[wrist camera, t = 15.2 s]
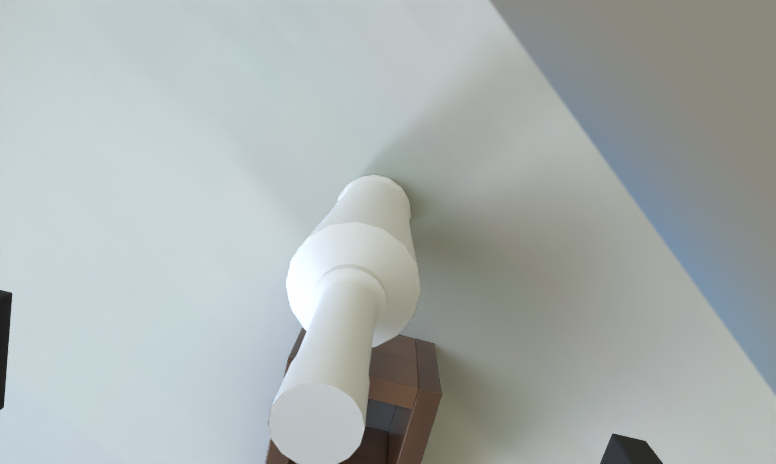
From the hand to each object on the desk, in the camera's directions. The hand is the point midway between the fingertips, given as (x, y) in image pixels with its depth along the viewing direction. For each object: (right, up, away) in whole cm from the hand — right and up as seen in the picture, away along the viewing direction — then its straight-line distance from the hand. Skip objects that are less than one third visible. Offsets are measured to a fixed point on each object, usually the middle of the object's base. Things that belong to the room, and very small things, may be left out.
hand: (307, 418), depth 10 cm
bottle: (+1, +6, +24) cm, 25 cm away
